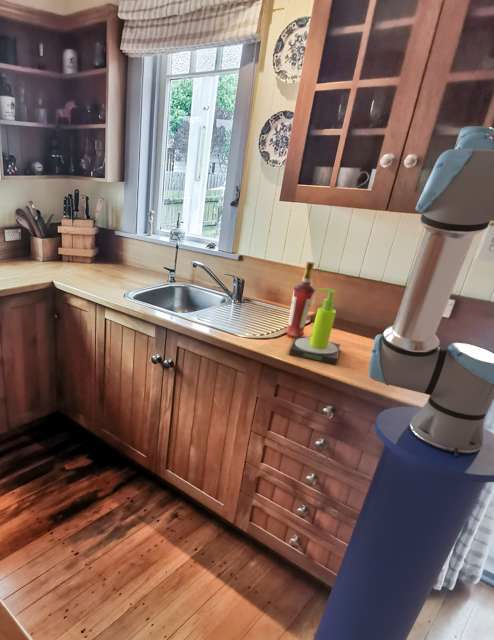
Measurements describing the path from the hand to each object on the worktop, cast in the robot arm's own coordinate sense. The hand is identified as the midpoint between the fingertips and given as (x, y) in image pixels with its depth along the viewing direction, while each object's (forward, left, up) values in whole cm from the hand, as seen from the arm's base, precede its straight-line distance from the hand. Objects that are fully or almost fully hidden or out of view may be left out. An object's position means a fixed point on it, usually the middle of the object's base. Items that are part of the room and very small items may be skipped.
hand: (429, 267), depth 137 cm
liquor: (+16, +34, -35) cm, 51 cm away
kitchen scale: (+3, +25, -34) cm, 42 cm away
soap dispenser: (+3, +25, -32) cm, 40 cm away
